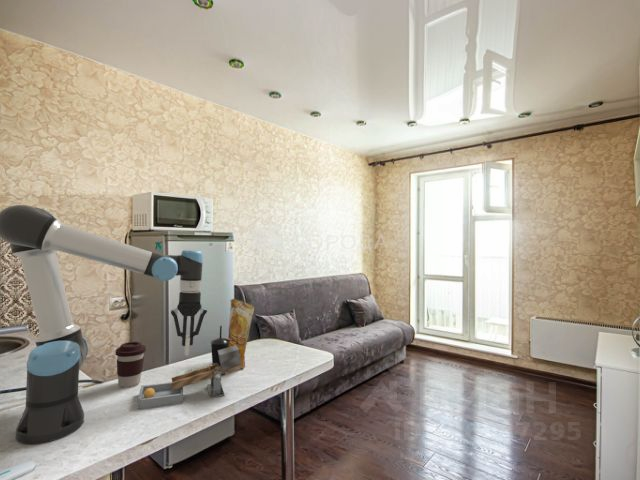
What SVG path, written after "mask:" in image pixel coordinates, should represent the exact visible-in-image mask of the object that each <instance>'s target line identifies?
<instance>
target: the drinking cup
mask: <svg viewBox="0 0 640 480" xmlns="http://www.w3.org/2000/svg"><path fill="white" fill-rule="evenodd" d="M222 330H223V327H222V325H220V326H219V337H217V338H215V339H212V340H211V341H210V345H211V364H212V363H219V366H220V360H219V355H218V350H221V349H224V348H228V347H229V343H230V340H228V338H225V337H222V334H223V333H222V332H223V331H222ZM225 375H226V373H224V374H221V377H222V376H225Z"/></svg>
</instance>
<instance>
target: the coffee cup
mask: <svg viewBox="0 0 640 480" xmlns="http://www.w3.org/2000/svg"><path fill="white" fill-rule="evenodd" d="M146 350H147V349H146V346H145V345H144V344H142V343H141V342H139V341H128V342H124V343H122V344H121V345H120V346H119V347H117V348H116V349H115V356H117V359H116V372H117V373H116V375H117V380H118V381H117V383H118V385H117V386H119V388H133V387H135V386H138V385H139V384H140V383H141V379H142V372H143V367H144V360H145V356H144V354H145V352H146Z"/></svg>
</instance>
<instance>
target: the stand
mask: <svg viewBox="0 0 640 480" xmlns="http://www.w3.org/2000/svg"><path fill="white" fill-rule="evenodd" d="M211 365H215V367H219V363H212V362H211ZM206 388H207V391H208V392H207V393H208V396H209V399H211V398H212V399H213V398H217V397H225V392H224V390H223V389H224V387H223V384H222V376H221V370H218V371H214V377H212V378H210V383H207V384H206Z"/></svg>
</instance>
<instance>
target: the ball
mask: <svg viewBox="0 0 640 480" xmlns="http://www.w3.org/2000/svg"><path fill="white" fill-rule="evenodd" d="M154 394H155V390H154V389H153V388H148V389H146V390H145V392H144V397H145V398H152V397H153V396H154Z"/></svg>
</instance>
